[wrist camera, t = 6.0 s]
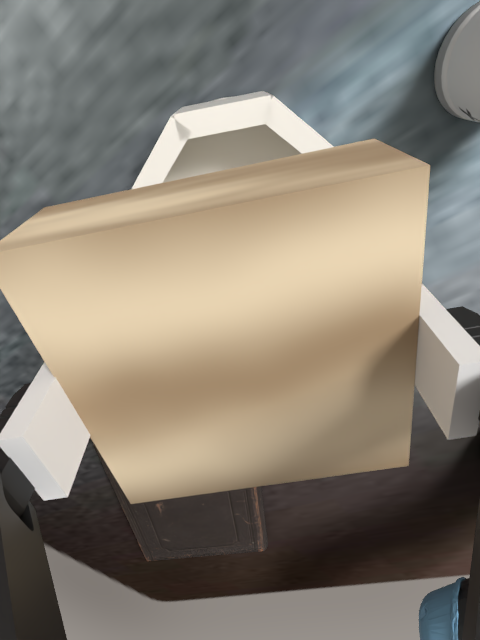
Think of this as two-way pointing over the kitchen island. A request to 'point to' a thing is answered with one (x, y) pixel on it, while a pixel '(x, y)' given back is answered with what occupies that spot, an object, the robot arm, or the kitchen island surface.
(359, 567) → the kitchen island surface
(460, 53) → the travel mug
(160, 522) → the hardcover book
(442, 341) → the robot arm
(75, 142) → the kitchen island surface
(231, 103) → the bowl
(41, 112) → the kitchen island surface
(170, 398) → the tan box
